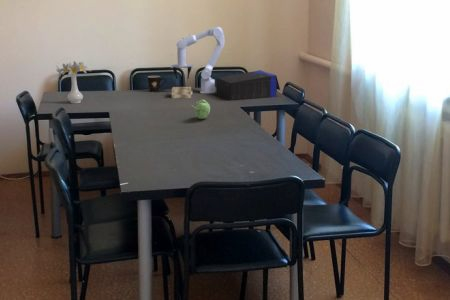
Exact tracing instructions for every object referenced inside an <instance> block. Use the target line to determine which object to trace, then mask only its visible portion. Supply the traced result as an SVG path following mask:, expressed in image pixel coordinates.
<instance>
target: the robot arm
mask: <svg viewBox="0 0 450 300" xmlns="http://www.w3.org/2000/svg"><path fill="white" fill-rule="evenodd" d="M205 37H214V38H215V40H216V46H215V47H214V49H213V52H212V54H211V56H210V57H209V60H208V62H207V64H206V66H205V68H203V70H202V71H201V72H200V73H201V74H200V76H201V78H200V94H216V86H215V85H216V82H215V81H216V79H213V78H212V77H211V75H212V71H213V68H214V67H215V64H216V62H217V61H218V58H219V57H220V54H221V52H222V50H223V49H224V47H225V44H226V40H225V39H226V38H225V33H224V30H223V28H222V27H220V26H215V27H212V28H209V29H208V28H207V29H206V30H204V31H202V32H200V33H198V34H196V35H194V34H191V33H190V34H189V35H188V36H186V37H185V38H184V37H182V39H179V40H178V41H177V43H176V47H177V64H171V65H170V68H171V69H172V71H173V73H174V75H175V79H176V80H178V69H182V68H183V69H187V79H190V74H191V71H192V68H193V69H194V64H187V51H186V50H187V49H186V47H190V46H192V45H194V44H196V43H197V42H198V40H200V39H203V38H205Z"/></svg>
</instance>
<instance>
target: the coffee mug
mask: <svg viewBox="0 0 450 300" xmlns="http://www.w3.org/2000/svg"><path fill="white" fill-rule="evenodd" d="M162 80H164V83H162V84H161V81H162ZM147 82H148V89H149V93H159V92H160V88H161V87H162V86H163V85H165V84H166V82H167V80H166V78H164V77H162V78H161V76H160V75H148V76H147Z"/></svg>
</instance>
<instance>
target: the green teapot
mask: <svg viewBox="0 0 450 300" xmlns="http://www.w3.org/2000/svg"><path fill="white" fill-rule="evenodd" d="M195 104H196V106H194V105H192V104H191V105H190V106H191V108H194V109H195V110H194V112H195V115H196V117H197V118H198V119H199V120H204V119H205V118H207V117H208V116H209V114H210V112H211V105H210V104H209V102H208V101H206V100H205V99H200V100H198V101H196V103H195Z"/></svg>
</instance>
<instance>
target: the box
mask: <svg viewBox="0 0 450 300" xmlns="http://www.w3.org/2000/svg"><path fill="white" fill-rule="evenodd" d="M191 91H192V86H172V88H171V99H191V98H192V94H191Z"/></svg>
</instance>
